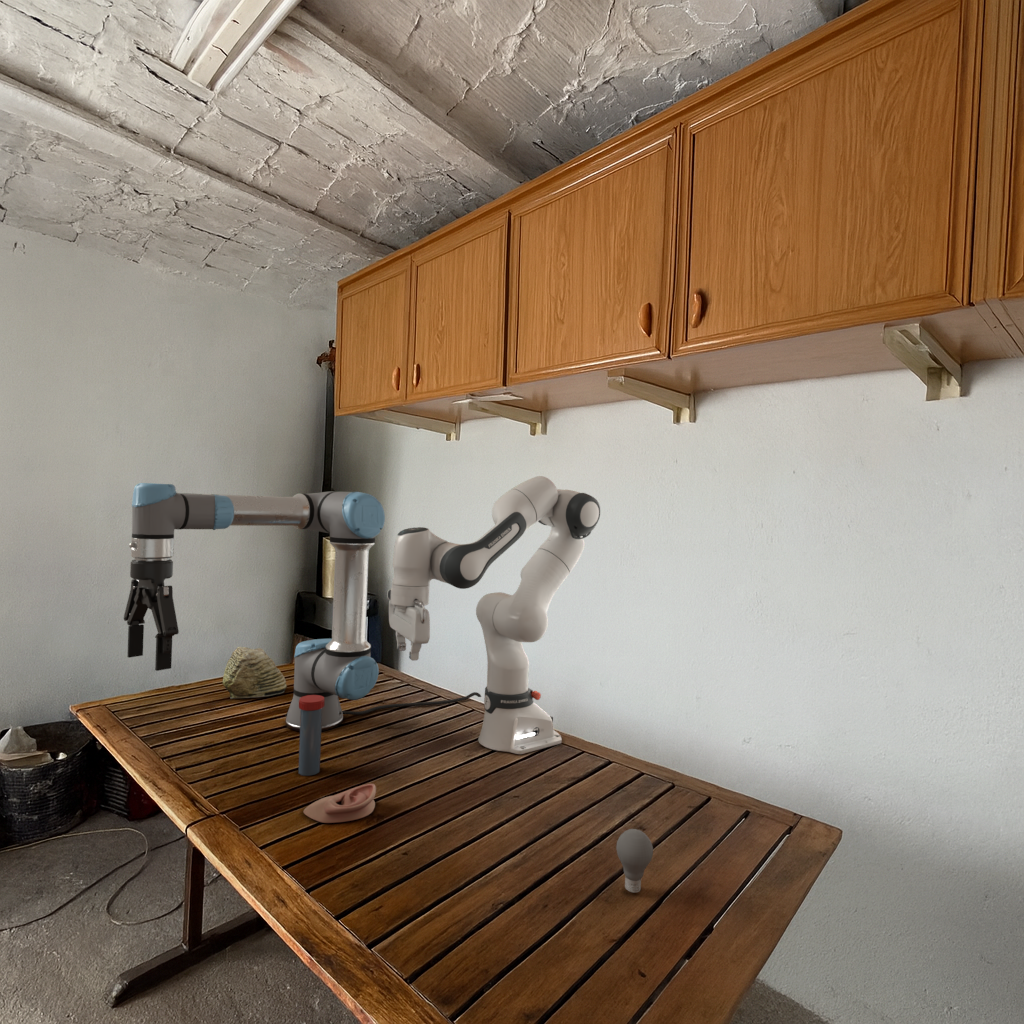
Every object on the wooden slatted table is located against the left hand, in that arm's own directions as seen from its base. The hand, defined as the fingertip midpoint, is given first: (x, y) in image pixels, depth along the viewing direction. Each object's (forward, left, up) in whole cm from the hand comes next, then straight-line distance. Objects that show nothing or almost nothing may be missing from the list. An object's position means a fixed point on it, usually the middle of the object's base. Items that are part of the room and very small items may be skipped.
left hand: (148, 662), depth 129 cm
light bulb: (-41, +90, -28) cm, 103 cm away
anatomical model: (-24, +33, -28) cm, 49 cm away
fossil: (-50, -47, -28) cm, 74 cm away
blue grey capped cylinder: (-30, +12, -28) cm, 43 cm away
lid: (-30, +12, -12) cm, 35 cm away
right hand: (-46, +26, -1) cm, 53 cm away
